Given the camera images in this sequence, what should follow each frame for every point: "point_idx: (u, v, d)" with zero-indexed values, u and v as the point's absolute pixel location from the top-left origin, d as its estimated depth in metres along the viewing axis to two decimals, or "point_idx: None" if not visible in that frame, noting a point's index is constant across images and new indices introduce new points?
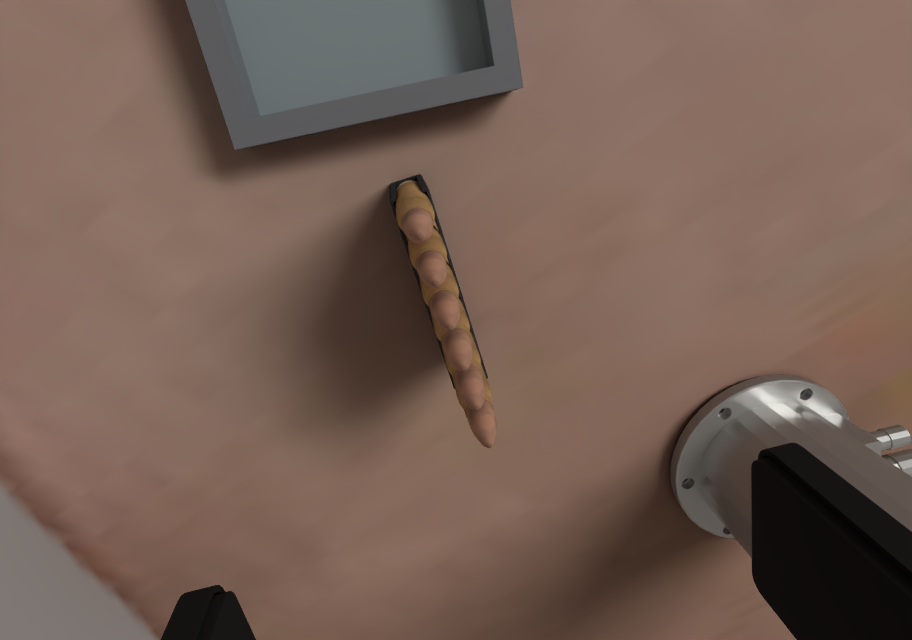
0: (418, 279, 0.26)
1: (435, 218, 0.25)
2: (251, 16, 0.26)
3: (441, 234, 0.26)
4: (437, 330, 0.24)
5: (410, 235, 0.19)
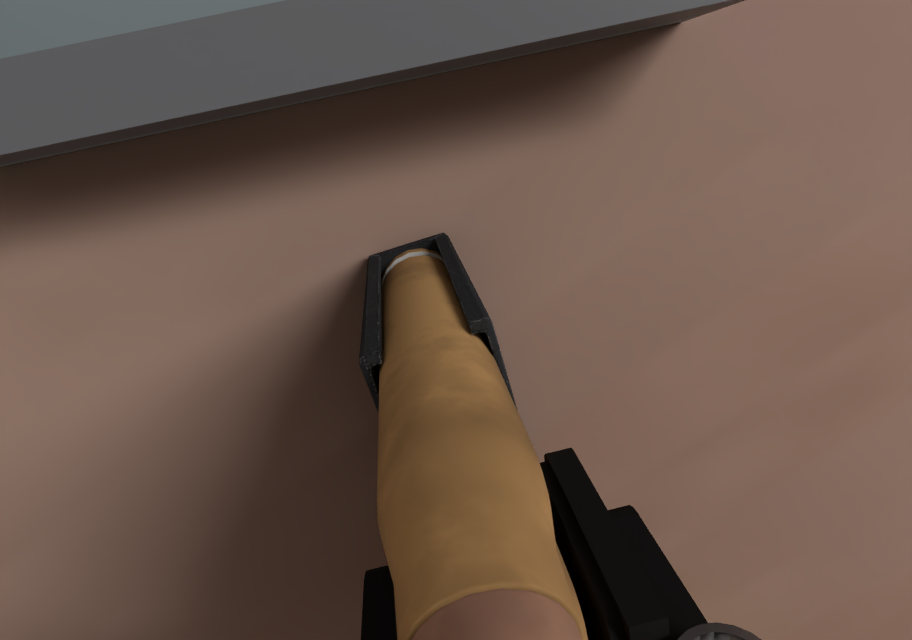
0: None
1: None
2: None
3: None
4: None
5: None
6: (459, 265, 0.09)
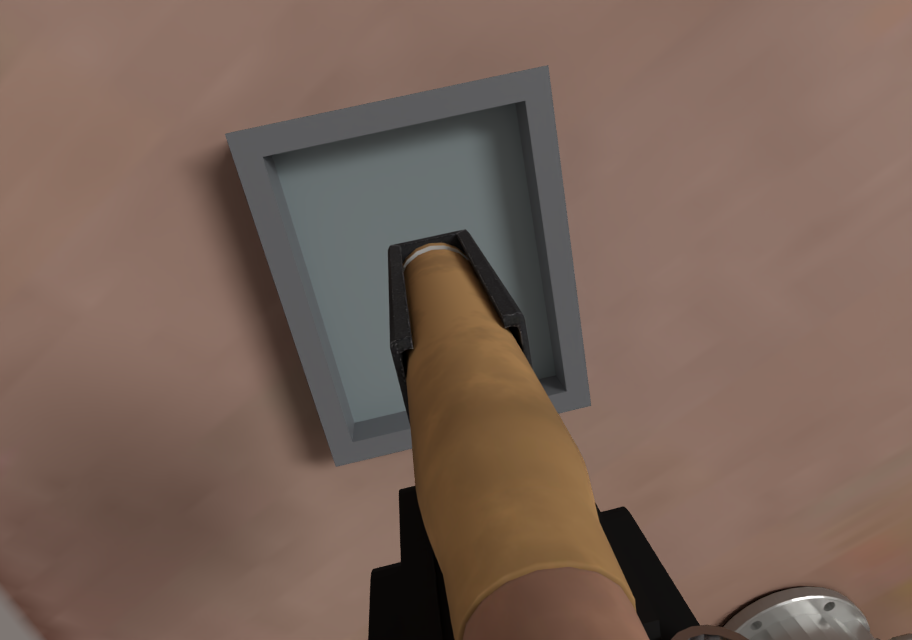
0: None
1: None
2: (350, 347, 0.29)
3: None
4: None
5: None
6: (486, 261, 0.10)
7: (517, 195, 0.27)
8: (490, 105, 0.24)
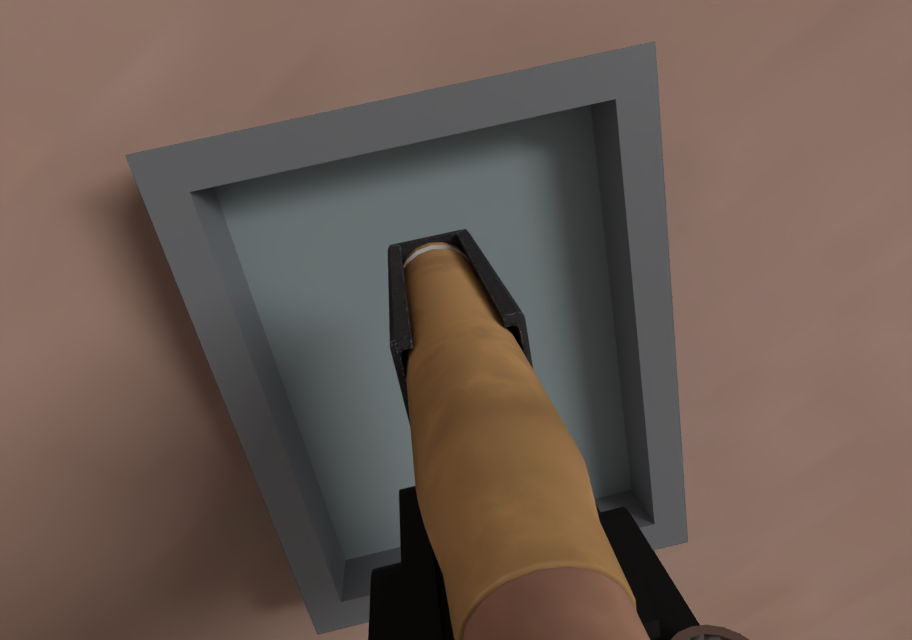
0: None
1: None
2: (338, 460, 0.20)
3: None
4: None
5: None
6: (485, 260, 0.10)
7: (587, 242, 0.18)
8: (559, 107, 0.15)
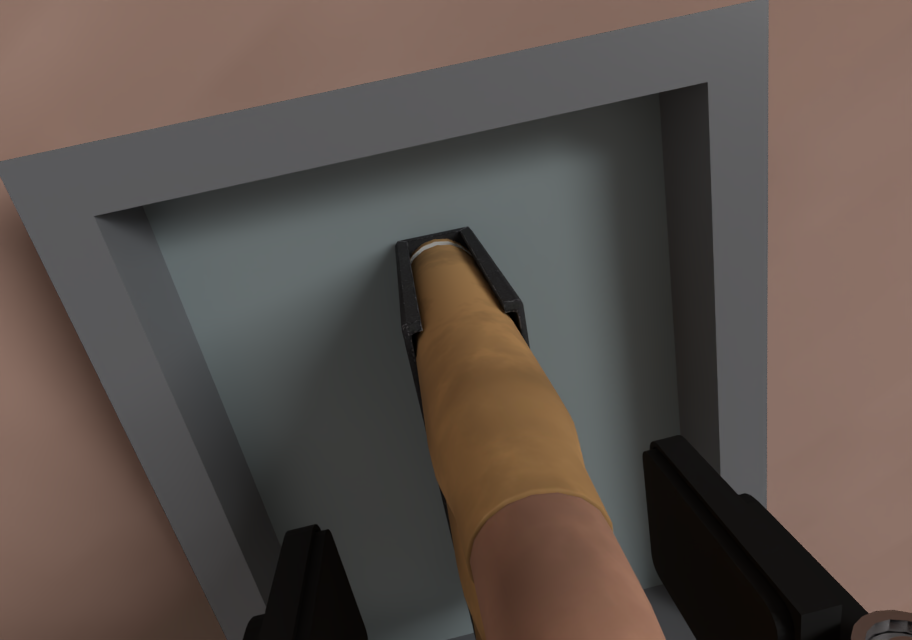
0: None
1: None
2: None
3: None
4: None
5: None
6: (487, 255, 0.10)
7: (647, 275, 0.14)
8: (628, 94, 0.10)
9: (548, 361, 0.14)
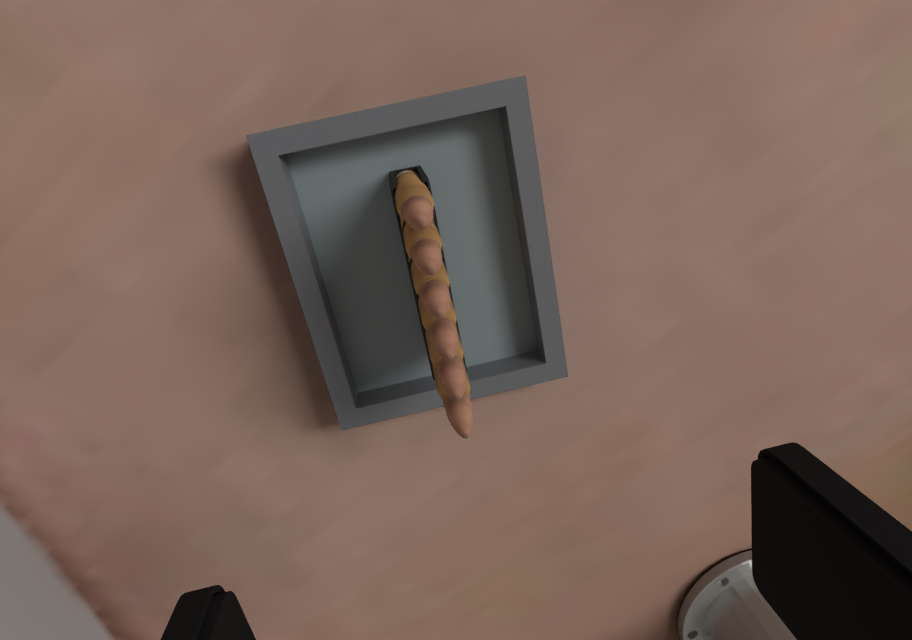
0: (409, 268, 0.26)
1: (432, 209, 0.26)
2: (354, 324, 0.32)
3: (437, 226, 0.26)
4: (424, 319, 0.24)
5: (411, 221, 0.19)
6: (423, 171, 0.27)
7: (501, 189, 0.31)
8: (475, 110, 0.27)
9: (458, 229, 0.31)
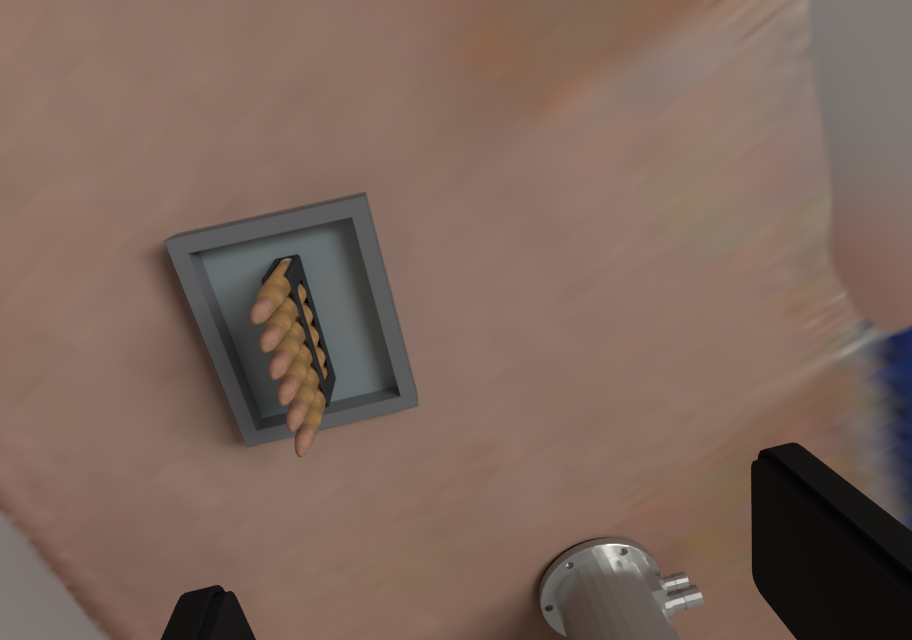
0: None
1: (293, 294, 0.37)
2: (256, 368, 0.43)
3: (297, 305, 0.37)
4: None
5: (250, 319, 0.30)
6: (292, 263, 0.38)
7: (360, 269, 0.42)
8: (329, 220, 0.38)
9: (330, 298, 0.42)
